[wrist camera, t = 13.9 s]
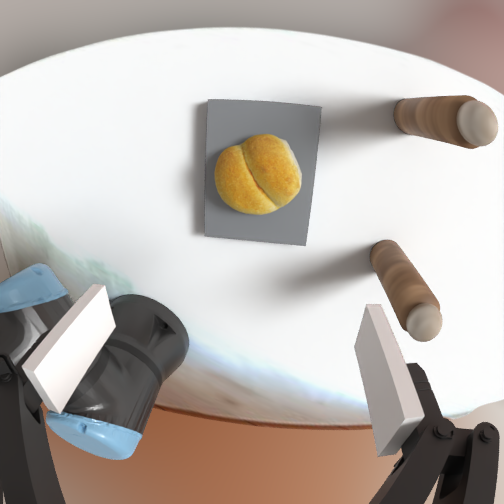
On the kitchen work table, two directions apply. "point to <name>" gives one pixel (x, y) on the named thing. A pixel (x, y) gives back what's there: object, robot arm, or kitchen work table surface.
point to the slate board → (237, 132)
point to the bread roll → (258, 175)
